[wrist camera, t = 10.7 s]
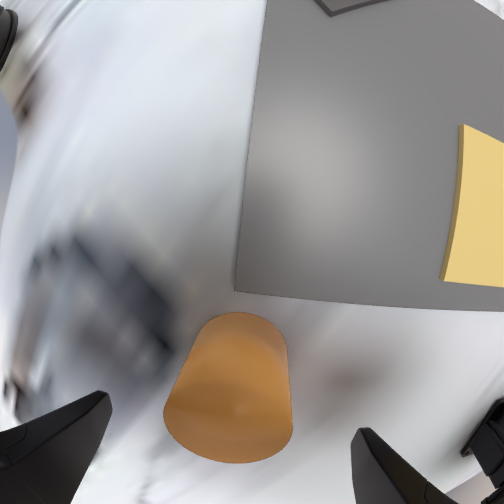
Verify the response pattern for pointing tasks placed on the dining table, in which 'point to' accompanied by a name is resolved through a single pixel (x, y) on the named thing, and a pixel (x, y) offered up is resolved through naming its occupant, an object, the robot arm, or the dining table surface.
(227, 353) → the cap
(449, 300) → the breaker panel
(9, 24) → the french press
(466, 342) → the dining table surface
